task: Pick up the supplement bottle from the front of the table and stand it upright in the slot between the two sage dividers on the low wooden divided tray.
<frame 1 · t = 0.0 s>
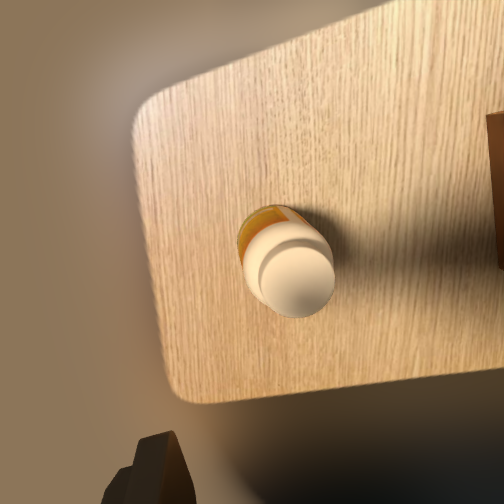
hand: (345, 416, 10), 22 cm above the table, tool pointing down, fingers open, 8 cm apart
supplement bottle: (272, 239, 31), on the table
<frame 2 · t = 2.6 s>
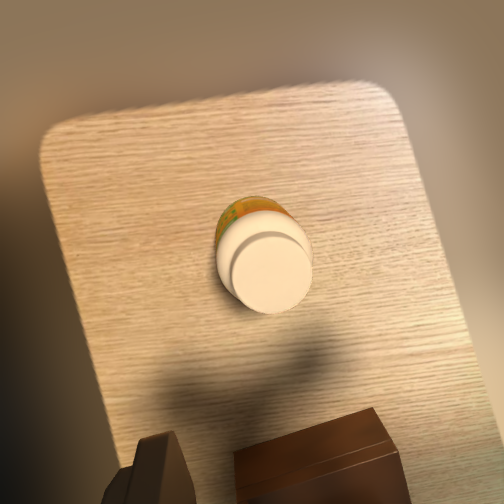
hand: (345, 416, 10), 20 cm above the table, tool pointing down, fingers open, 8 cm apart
supplement bottle: (253, 232, 30), on the table
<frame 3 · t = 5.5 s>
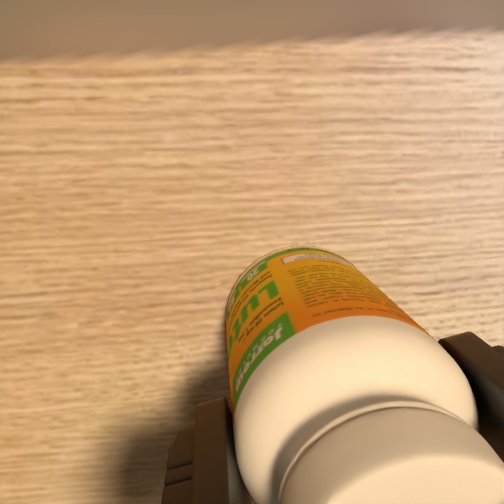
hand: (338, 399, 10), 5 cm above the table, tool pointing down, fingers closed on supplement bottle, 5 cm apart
supplement bottle: (296, 309, 16), on the table, touching gripper
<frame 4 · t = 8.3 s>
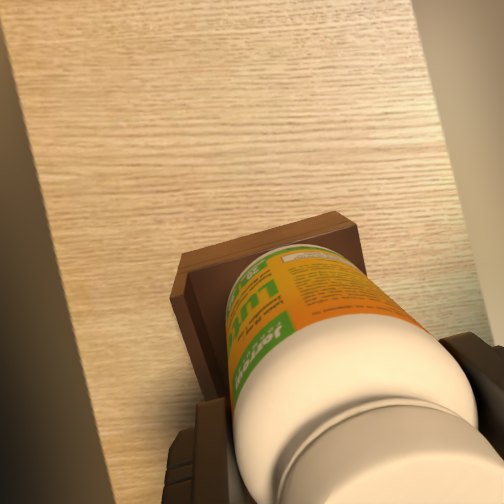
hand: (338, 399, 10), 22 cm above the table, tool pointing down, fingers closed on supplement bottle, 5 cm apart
supplement bottle: (295, 308, 16), point 16 cm above the table, touching gripper
wooden divided tray: (289, 346, 34), on the table
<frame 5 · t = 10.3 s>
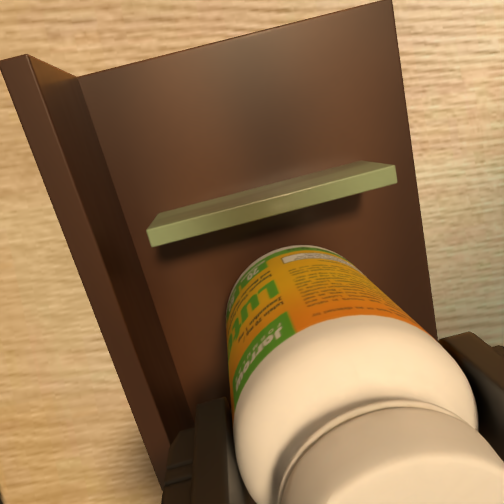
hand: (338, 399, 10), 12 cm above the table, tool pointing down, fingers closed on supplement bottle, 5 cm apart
supplement bottle: (295, 309, 16), point 6 cm above the table, touching gripper
wooden divided tray: (271, 265, 22), on the table
when the fingers open (10 cm above the table, at t = 11.3 s): supplement bottle stays where it is, resting on wooden divided tray.
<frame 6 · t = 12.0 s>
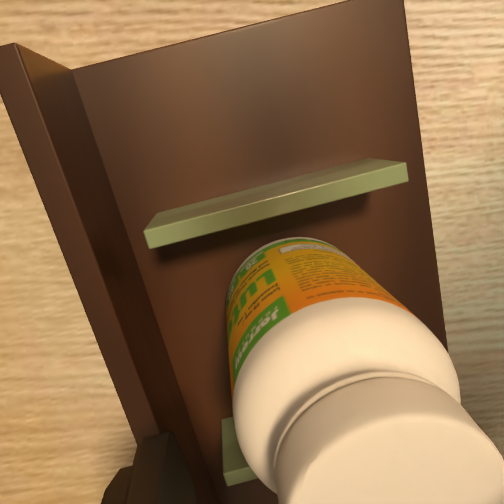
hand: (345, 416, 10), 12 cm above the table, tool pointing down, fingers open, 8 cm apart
supplement bottle: (292, 299, 17), point 5 cm above the table, touching wooden divided tray
wooden divided tray: (273, 266, 21), on the table
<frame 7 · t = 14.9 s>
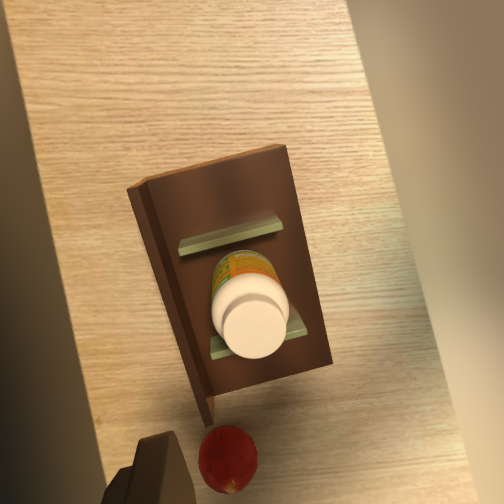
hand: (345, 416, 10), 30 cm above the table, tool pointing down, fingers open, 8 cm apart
supplement bottle: (243, 278, 35), point 5 cm above the table, touching wooden divided tray
onion: (226, 431, 45), on the table
wooden divided tray: (239, 263, 40), on the table
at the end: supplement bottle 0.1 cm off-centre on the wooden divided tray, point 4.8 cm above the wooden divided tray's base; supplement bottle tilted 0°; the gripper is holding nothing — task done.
